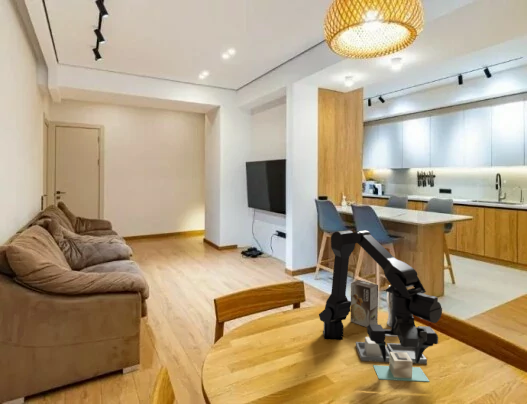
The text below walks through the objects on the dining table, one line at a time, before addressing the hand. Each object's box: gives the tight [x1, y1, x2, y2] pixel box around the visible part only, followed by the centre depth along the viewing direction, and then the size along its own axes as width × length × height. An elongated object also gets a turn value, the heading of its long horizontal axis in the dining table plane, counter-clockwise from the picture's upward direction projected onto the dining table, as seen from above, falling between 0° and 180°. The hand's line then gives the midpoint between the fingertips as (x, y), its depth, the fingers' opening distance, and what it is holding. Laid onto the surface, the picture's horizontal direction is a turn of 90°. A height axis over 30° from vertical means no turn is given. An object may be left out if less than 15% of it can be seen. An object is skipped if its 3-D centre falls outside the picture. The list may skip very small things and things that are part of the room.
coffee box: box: [350, 279, 379, 328], centre depth 136 cm, size 9×6×16 cm
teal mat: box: [372, 364, 430, 383], centre depth 101 cm, size 14×7×1 cm, turn 85°
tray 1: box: [355, 341, 390, 363], centre depth 112 cm, size 10×10×2 cm
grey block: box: [364, 336, 382, 356], centre depth 112 cm, size 4×4×4 cm
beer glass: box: [386, 285, 392, 328], centre depth 134 cm, size 7×7×15 cm
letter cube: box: [388, 352, 414, 378], centre depth 100 cm, size 5×5×5 cm
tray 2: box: [386, 342, 428, 365], centre depth 111 cm, size 10×10×2 cm
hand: (400, 361), depth 100 cm, fingers open, 9 cm apart
